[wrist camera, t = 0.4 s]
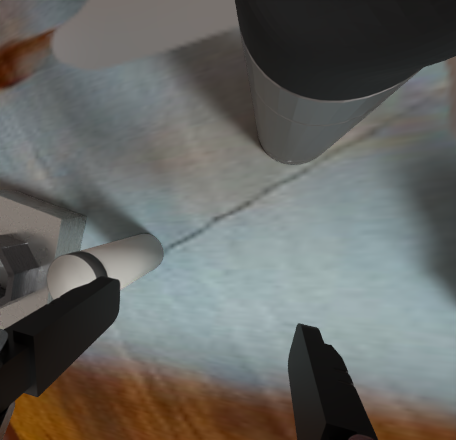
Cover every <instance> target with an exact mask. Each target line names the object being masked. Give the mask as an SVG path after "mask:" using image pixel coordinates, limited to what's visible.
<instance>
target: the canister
mask: <svg viewBox="0 0 456 440" xmlns="http://www.w3.org/2000/svg"><path fill="white" fill-rule="evenodd" d="M163 254H164V253H163V247H162V245H161V243H160V241H159V240H158V239H157V238H156V237H154V236H153V235H151V234H139V235H135V236H132V237H128V238H125V239H121V240H117V241H114V242H110V243H107V244H103V245H99V246H96V247H92V248H88V249H85V250H81V251H76V252H72V253H68V254H65V255H61V256H59V257H57V258H56V259H55V260H54V261H53V262H52V263H51V264H50V266H49V269H48V272H47V286H48V290H49V293H50V295H51V297H52V299H53V300H54V299H56V298H59V297H60V296H61V295H63V294H64V293H66V292H68V291H70V290H71V289H74V288H76V287H79V286H82V285H85V284H88V283H90V282H92V281H93V280H95V279H96V278H98V277H100V276H106V277H110V278H114V279H118V280H119V281H120V290H121V289H123V288H125V287H126V286H128V285H129V284H131V283H133V282H134V281H136V280H138V279H139V278H141V277H142V276H144V275H146V274H147V273H149V272H150V271H152V270H154V269H155V268H157V267H158V266H159V265H160V264H161V262H162V260H163Z"/></svg>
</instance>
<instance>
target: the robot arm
mask: <svg viewBox="0 0 456 440" xmlns="http://www.w3.org/2000/svg"><path fill="white" fill-rule="evenodd" d="M235 4H236V9H237V15H238V21H239V26H240V32H241V38H242V44H243V50H244V56H245V61H246V66H247V72H248V78H249V84H250V90H251V96H252V102H253V108H254V114H255V120H256V127H257V132H258V137H259V141H260V144H261V145H262V147H263V149H264V151H265V152H266V153H267V154H268V155H269V156H270V157H272V158H273V159H275V160H276V161H279V162H281V163H284V164H290V165H295V164H303V163H306V162H309V161H311V160H313V159H315V158H317V157H318V156H319V155H321V154H322V153H323V152H324V151H326V150H327V149H328V148H329V147H331V146H332V145H333V144H334V143H335V142H337V141H338V140H339V139H340V138H341V137H342V136H344V135H345V134H346V133H347V132H348V131H350V130H351V129H352V128H353V127H354V126H355V125H357V124H358V123H359V122H360V121H361V120H363V119H364V118H365V117H366V116H367V115H368V114H370V113H371V112H372V111H373V110H374V109H375V108H377V107H378V106H379V105H380V104H381V103H382V102H384V101H385V100H386V99H387V98H388V97H389V96H390V95H392V94H393V93H394V92H395V91H396V90H398V89H399V88H400V87H401V86H402V85H403V84H405V83H406V82H407V81H408V80H409V79H411V78H412V77H413V76H414V75H415V74H416V73H418V72H419V71H420V70H421V69H422V68H423V67H425V66H429V65H432V64H435V63H438V62H441V61H444V60H447V59H450V58H452V57H454V56H456V0H235ZM119 304H120V281H119V280H118V279H114V278H110V277H106V276H100V277H98V278H96V279H95V280H93V281H92V282H90V283H88V284H85V285H82V286H79V287H76V288H74V289H71V290H70V291H68V292H66V293H64V294H63V295H61V296H60V297H59V298H56V299H54V300H53V301H51V302H50V303H49V304H46V305H44V306H43V307H41V308H39V309H38V310H36V311H34V312H32V313H31V314H29V315H27V316H26V317H24V318H22V319H21V320H19V321H17V322H16V323H14V324H12V325H11V326H9V327H7V328H6V329H4V330H3V329H0V440H2V439H3V436H4V434H5V431H6V429H7V426H8V424H9V421H10V419H11V416H12V413H13V411H14V407H15V400H16V399H17V398H18V397H19V396H21V395H22V394H23V393H26V394H29V395H32V396H35V397H39V396H40V395H41V394H42V393H43V392H44V391H45V390H46V389H47V388H48V387H49V386H50V385H51V384H52V383H53V382H54V381H55V380H56V379H57V378H58V377H59V376H60V375H61V374H62V373H63V372H64V371H65V370H66V369H67V368H68V367H69V366H70V365H71V364H72V363H73V362H74V361H75V360H76V359H77V358H78V357H79V356H80V355H81V354H82V353H83V352H84V351H85V350H86V349H87V348H88V347H89V346H90V345H91V344H92V343H93V342H94V341H95V340H96V339H97V338H98V337H99V336H100V335H101V334H103V333H104V332H105V331H106V330H107V329H108V328H109V327H110V326H111V325H112V324H113V322H114V321H115V319H116V318H117V315H118V313H119ZM288 373H289V381H290V388H291V396H292V403H293V411H294V418H295V426H296V433H297V440H378V439H377V436H376V434H375V432H374V429H373V427H372V425H371V423H370V420H369V418H368V416H367V414H366V411H365V409H364V407H363V404H362V402H361V400H360V398H359V395H358V393H357V391H356V389H355V387H354V386H353V382H352V379H351V377H350V375H348V370H347V368H346V366H345V364H344V361H343V359H342V357H341V356H340V355H339V354H338V353H337V351H336V350H335V349H334V348H333V347H332V345H328V344H324V341H323V339H322V336H321V333H320V331H319V329H318V328H316V327H312V326H308V325H304V324H300V323H299V324H298V325H297V327H296V331H295V334H294V338H293V342H292V345H291V349H290V353H289V359H288Z"/></svg>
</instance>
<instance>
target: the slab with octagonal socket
mask: <svg viewBox="0 0 456 440" xmlns="http://www.w3.org/2000/svg"><path fill="white" fill-rule="evenodd" d="M85 222H86V216H83V215H81V214H78V213H75V212H73V211H70V210H67V209H64V208H62V207H59V206H56V205H54V204H51V203H48V202H45V201H43V200H40V199H37V198H34V197H32V196H29V195H26V194H24V193H21V192H18V191H13V190H0V325H1V326H3V327H5V328H7V327H9V326H11V325H12V324H14V323H16V322H17V321H19V320H21V319H22V318H24V317H26V316H27V315H29V314H31V313H32V312H34V311H36V310H38V309H39V308H41V307H43V306H44V305H46V304H49V303H50V302H51V301H53V299H52V297H51V295H50V293H49V290H48V286H47V272H48V269H49V266H50V264H51V263H52V262H53V261H54V260H55V259H56V258H57V257H59V256H61V255H65V254H68V253H72V252H76V251H80V248H81V243H82V237H83V232H84V227H85Z"/></svg>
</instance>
